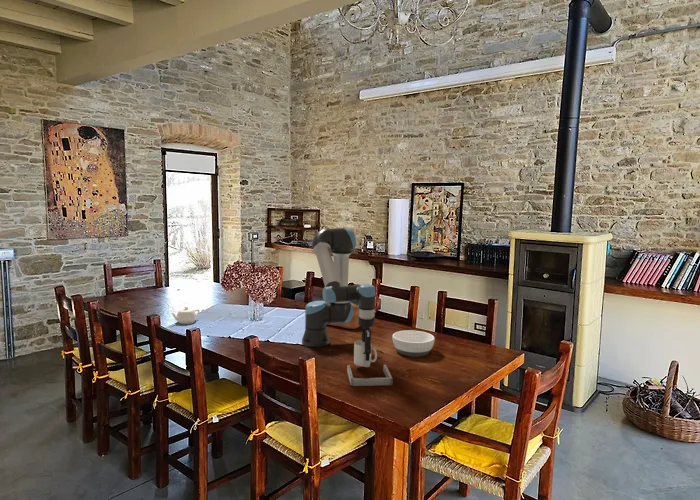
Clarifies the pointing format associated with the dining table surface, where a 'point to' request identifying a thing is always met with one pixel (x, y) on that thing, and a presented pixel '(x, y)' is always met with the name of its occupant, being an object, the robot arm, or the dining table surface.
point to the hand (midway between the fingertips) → (365, 363)
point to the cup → (361, 353)
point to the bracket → (370, 379)
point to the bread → (354, 321)
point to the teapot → (186, 316)
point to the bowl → (413, 343)
